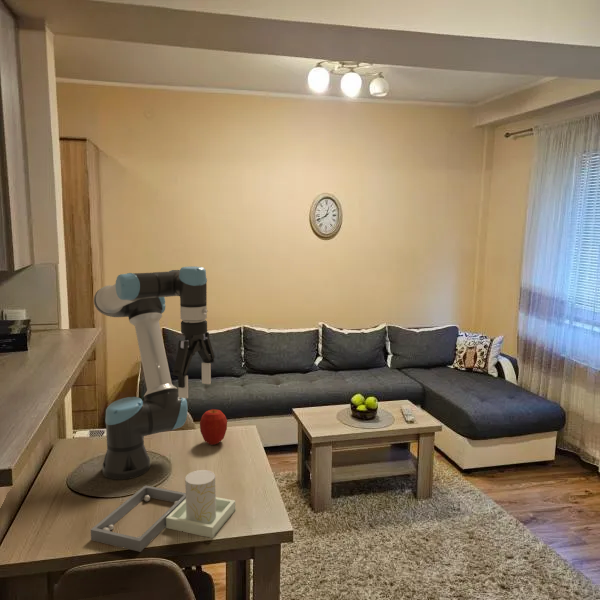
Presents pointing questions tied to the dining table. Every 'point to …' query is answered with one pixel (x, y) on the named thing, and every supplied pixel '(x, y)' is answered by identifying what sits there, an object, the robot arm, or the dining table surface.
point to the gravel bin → (103, 528)
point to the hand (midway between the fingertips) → (195, 390)
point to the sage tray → (180, 523)
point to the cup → (200, 496)
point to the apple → (213, 426)
